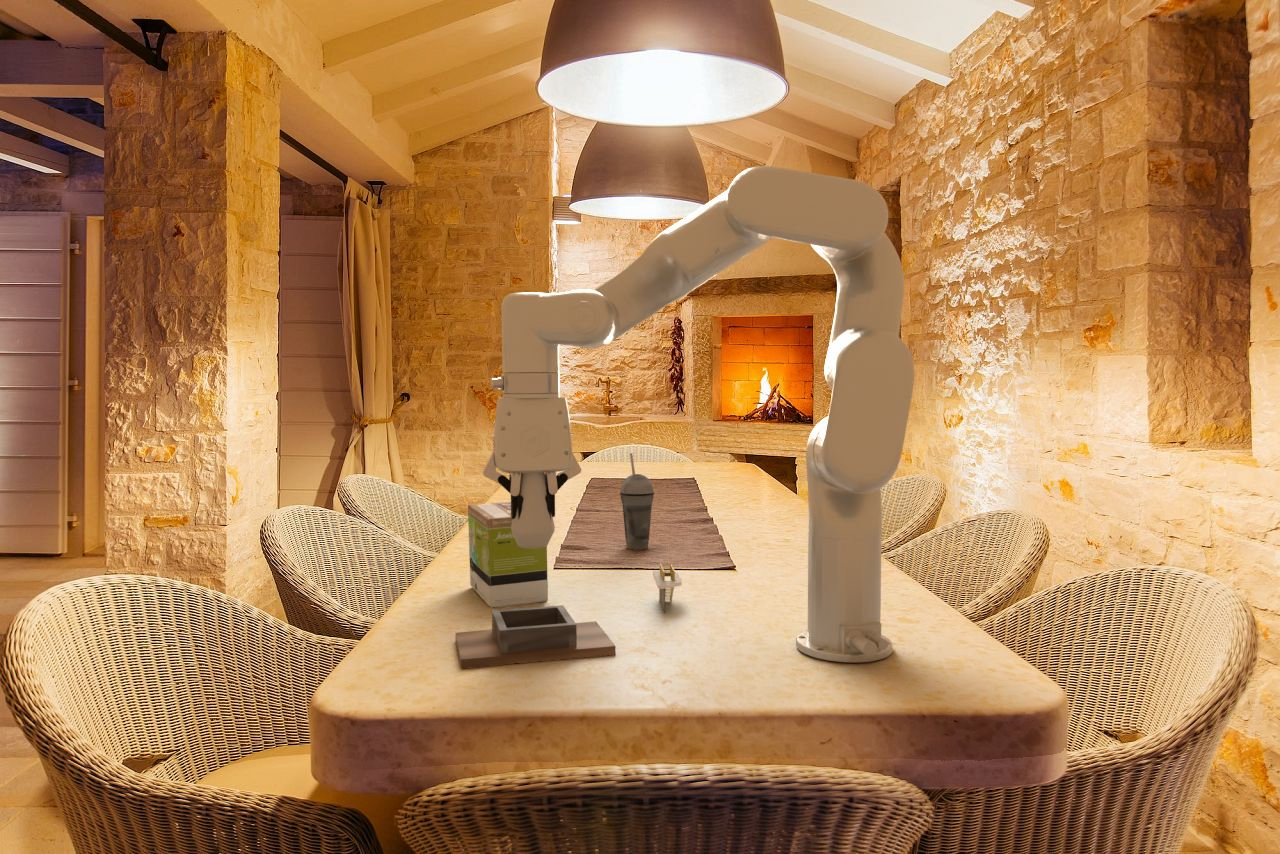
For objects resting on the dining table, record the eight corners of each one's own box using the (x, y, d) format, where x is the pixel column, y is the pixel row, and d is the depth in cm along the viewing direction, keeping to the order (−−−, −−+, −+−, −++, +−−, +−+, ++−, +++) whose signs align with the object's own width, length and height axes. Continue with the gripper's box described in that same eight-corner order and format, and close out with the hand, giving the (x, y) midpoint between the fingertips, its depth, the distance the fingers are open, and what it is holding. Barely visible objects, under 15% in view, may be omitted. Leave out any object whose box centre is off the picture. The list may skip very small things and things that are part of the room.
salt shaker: (547, 550, 117) (545, 451, 117) (505, 549, 119) (503, 451, 118) (560, 542, 123) (558, 447, 122) (520, 540, 124) (518, 447, 123)
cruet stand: (615, 654, 118) (615, 623, 118) (461, 668, 113) (460, 636, 113) (596, 629, 130) (595, 601, 130) (455, 641, 125) (454, 611, 125)
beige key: (697, 593, 152) (697, 555, 152) (713, 623, 134) (713, 580, 134) (626, 595, 151) (626, 557, 151) (633, 625, 133) (633, 582, 133)
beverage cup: (654, 551, 186) (654, 454, 184) (619, 551, 186) (618, 454, 185) (654, 544, 193) (654, 451, 192) (620, 544, 193) (620, 451, 192)
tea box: (468, 588, 156) (466, 503, 155) (524, 582, 159) (523, 499, 158) (488, 609, 142) (487, 516, 141) (549, 602, 146) (548, 511, 145)
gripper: (470, 387, 114) (473, 531, 115) (597, 386, 118) (598, 525, 119) (466, 386, 121) (469, 522, 122) (586, 385, 125) (587, 516, 126)
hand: (533, 522), depth 121 cm, fingers closed on salt shaker, 3 cm apart
